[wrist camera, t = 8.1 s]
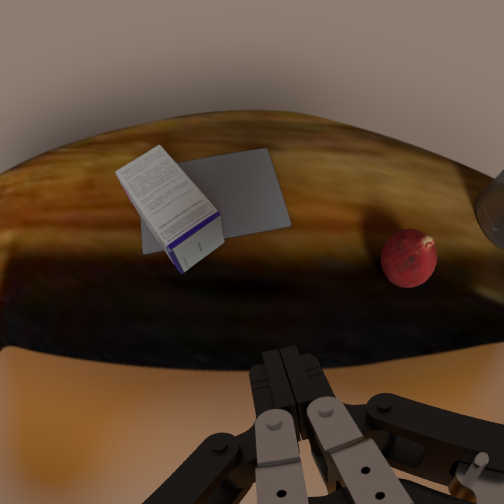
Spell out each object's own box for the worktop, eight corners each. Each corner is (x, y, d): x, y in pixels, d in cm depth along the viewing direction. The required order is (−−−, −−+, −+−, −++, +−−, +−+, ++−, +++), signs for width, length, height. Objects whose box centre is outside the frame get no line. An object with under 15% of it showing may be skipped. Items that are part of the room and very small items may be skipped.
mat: (266, 150, 39) (266, 147, 39) (290, 226, 35) (291, 224, 34) (140, 173, 37) (139, 171, 37) (144, 254, 33) (142, 252, 33)
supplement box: (224, 213, 28) (159, 141, 31) (169, 252, 27) (111, 172, 30) (227, 241, 33) (168, 174, 37) (181, 275, 32) (127, 201, 35)
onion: (393, 307, 31) (431, 283, 24) (360, 266, 33) (388, 232, 26) (425, 275, 33) (463, 246, 25) (393, 238, 34) (424, 201, 27)
